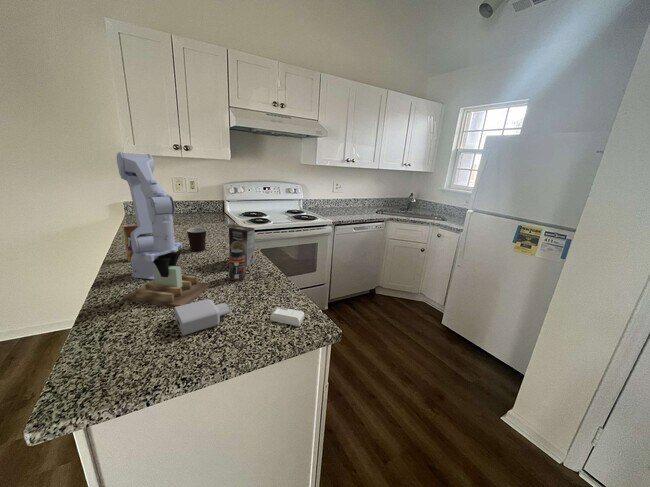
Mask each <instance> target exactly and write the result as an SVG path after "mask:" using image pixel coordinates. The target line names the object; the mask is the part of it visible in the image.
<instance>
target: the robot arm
mask: <svg viewBox="0 0 650 487" xmlns="http://www.w3.org/2000/svg"><path fill="white" fill-rule="evenodd" d="M116 164H117V169H118V174H119V176H120V178H121V179H122V180H124V181H125V182H126V181H127V184H128V186H129V190H130V191H129V192H130V195H131V200H132V204H133V210H134V215H135V220H136V224H137V225H138V227H137V228H136V229H135V230H134V231H133V232H132V233H131V235H130V237H131V246H132V250H133V252H134V254H133V255H132V257H131V261H130V263H131V270H132V274H131V276H130V277H132V278H137V279H146V280H154V274H153V267H154V266H156V267H157V269H158V271H159V273H160V275H161V277H168V275H169V266H177V262H178V260H179V258H180V256H181V251H179V249H182V248H183V246H184V245H183V242H182V241H175V240H176V239H175V230H174V217H173V215H175V211H176V206H175V202H174V199H173V196H171V195H169V194H167V193H166V192H165V190H164V188H163V186H162V184H161V182H160V181H158V180H156V179H155V177H154V174H153V173H154V171H155V162H154V158H153V156H152V155H151V154H150V153H147V154H146V153H144V154H143V153H135V152H134V153H130V152H121V151H119V152H117V153H116ZM144 234H150V235H146V236H138V235H144Z"/></svg>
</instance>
